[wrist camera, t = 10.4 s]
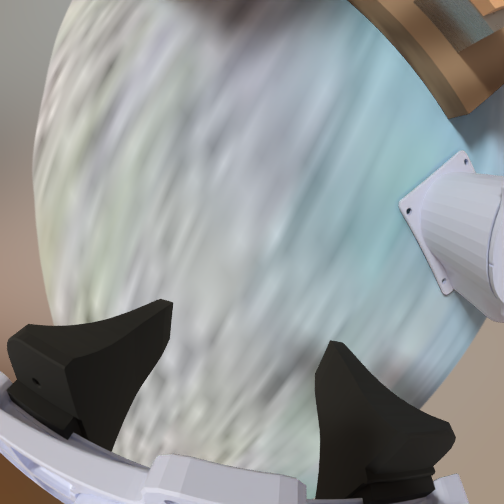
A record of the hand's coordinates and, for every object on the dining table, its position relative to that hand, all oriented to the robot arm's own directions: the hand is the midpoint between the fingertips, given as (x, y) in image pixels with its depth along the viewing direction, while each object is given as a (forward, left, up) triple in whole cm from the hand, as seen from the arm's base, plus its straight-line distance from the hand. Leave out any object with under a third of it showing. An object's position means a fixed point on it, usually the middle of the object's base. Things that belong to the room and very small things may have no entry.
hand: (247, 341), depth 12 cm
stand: (+7, -26, -9) cm, 29 cm away
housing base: (+7, -27, -6) cm, 28 cm away
